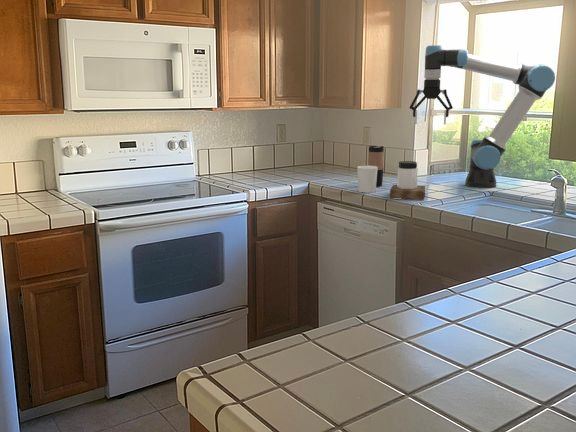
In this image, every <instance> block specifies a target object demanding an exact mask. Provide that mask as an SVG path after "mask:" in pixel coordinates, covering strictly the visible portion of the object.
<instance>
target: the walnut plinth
mask: <svg viewBox="0 0 576 432" xmlns="http://www.w3.org/2000/svg"><path fill="white" fill-rule="evenodd" d="M425 195H426V185H418V184H417V188H415V189H400V188H398V187H397V184H392V186H391V187H390V190H389V199H390V198H401V199H400V200H406V199H417V200H416V201H424V199H425ZM418 199H419V200H418Z"/></svg>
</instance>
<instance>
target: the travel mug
mask: <svg viewBox="0 0 576 432" xmlns="http://www.w3.org/2000/svg"><path fill="white" fill-rule="evenodd" d="M384 151H385V150H384V146H383V145H380V146H377V145H369V146H368V159H367V160H368V161H367V166H376V167H378V170H377V181H376V188H380V186H381V187H383V180H384V179H383V178H384V159H385V157H384Z"/></svg>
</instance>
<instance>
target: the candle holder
mask: <svg viewBox="0 0 576 432" xmlns="http://www.w3.org/2000/svg"><path fill="white" fill-rule="evenodd" d="M356 168H357V188H358V189H357V191H358V192H359V193H361V192H365V193H364V194H372V193H371V192H374V193H375V192H376V190H377V187H376V181H377V170H378V167H376V166H368V165H359V166H357V167H356Z"/></svg>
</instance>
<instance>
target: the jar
mask: <svg viewBox="0 0 576 432" xmlns="http://www.w3.org/2000/svg"><path fill="white" fill-rule="evenodd" d="M396 185H397V187H398V188H400V189H415V188H417V185H418V162H417V161H414V160H402V161H401V160H400V161H399V162H398V167H397V183H396Z"/></svg>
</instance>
